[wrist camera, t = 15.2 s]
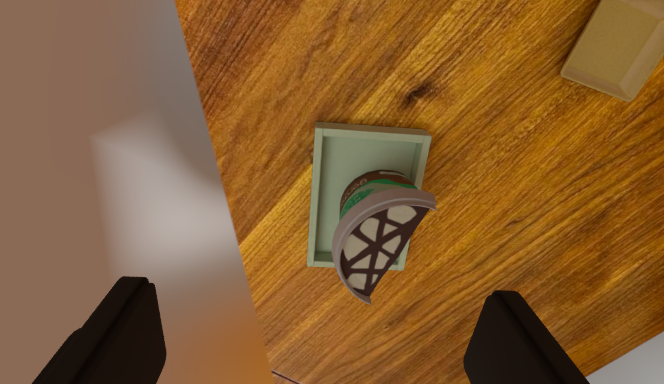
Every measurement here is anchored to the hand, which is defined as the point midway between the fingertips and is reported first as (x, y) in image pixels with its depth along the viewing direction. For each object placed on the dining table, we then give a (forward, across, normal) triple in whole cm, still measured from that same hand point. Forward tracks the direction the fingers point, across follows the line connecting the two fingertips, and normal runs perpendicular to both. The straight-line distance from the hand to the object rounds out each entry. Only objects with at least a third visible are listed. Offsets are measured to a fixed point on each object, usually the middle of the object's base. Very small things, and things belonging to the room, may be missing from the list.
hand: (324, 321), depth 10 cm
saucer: (+27, -28, -9) cm, 40 cm away
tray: (+27, -6, +9) cm, 30 cm away
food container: (+27, -6, +9) cm, 29 cm away
